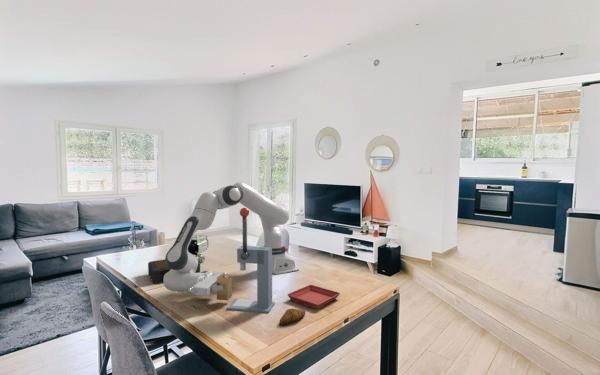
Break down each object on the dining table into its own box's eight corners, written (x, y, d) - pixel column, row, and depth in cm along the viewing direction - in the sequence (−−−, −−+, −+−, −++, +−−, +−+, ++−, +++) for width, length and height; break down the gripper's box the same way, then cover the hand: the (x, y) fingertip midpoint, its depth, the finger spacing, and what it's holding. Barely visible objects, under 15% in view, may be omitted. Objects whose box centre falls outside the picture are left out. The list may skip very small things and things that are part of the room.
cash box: (153, 285, 174) (153, 270, 173) (148, 274, 191) (147, 261, 190) (201, 277, 187) (201, 263, 186) (192, 267, 204) (192, 255, 204)
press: (226, 309, 144) (225, 250, 142) (234, 300, 153) (234, 245, 152) (268, 313, 140) (268, 252, 139) (274, 303, 150) (274, 246, 148)
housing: (217, 299, 148) (216, 274, 147) (221, 295, 153) (221, 270, 152) (227, 300, 147) (227, 275, 146) (231, 296, 152) (231, 271, 151)
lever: (238, 260, 139) (238, 208, 138) (242, 257, 143) (241, 207, 142) (247, 260, 139) (247, 208, 137) (251, 258, 143) (250, 207, 141)
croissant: (298, 312, 141) (298, 301, 141) (310, 317, 136) (310, 305, 136) (274, 323, 131) (274, 310, 131) (286, 329, 127) (286, 316, 126)
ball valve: (197, 266, 206) (196, 238, 205) (184, 265, 208) (184, 237, 206) (210, 258, 223) (210, 232, 222) (198, 257, 225) (198, 232, 224)
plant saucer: (310, 290, 167) (310, 283, 167) (340, 299, 156) (340, 292, 156) (286, 301, 153) (286, 294, 153) (318, 312, 142) (318, 304, 142)
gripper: (185, 284, 142) (216, 286, 139) (207, 269, 162) (234, 271, 159) (186, 298, 142) (216, 301, 140) (207, 282, 162) (234, 284, 160)
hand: (226, 284), depth 150 cm, fingers closed on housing, 5 cm apart
